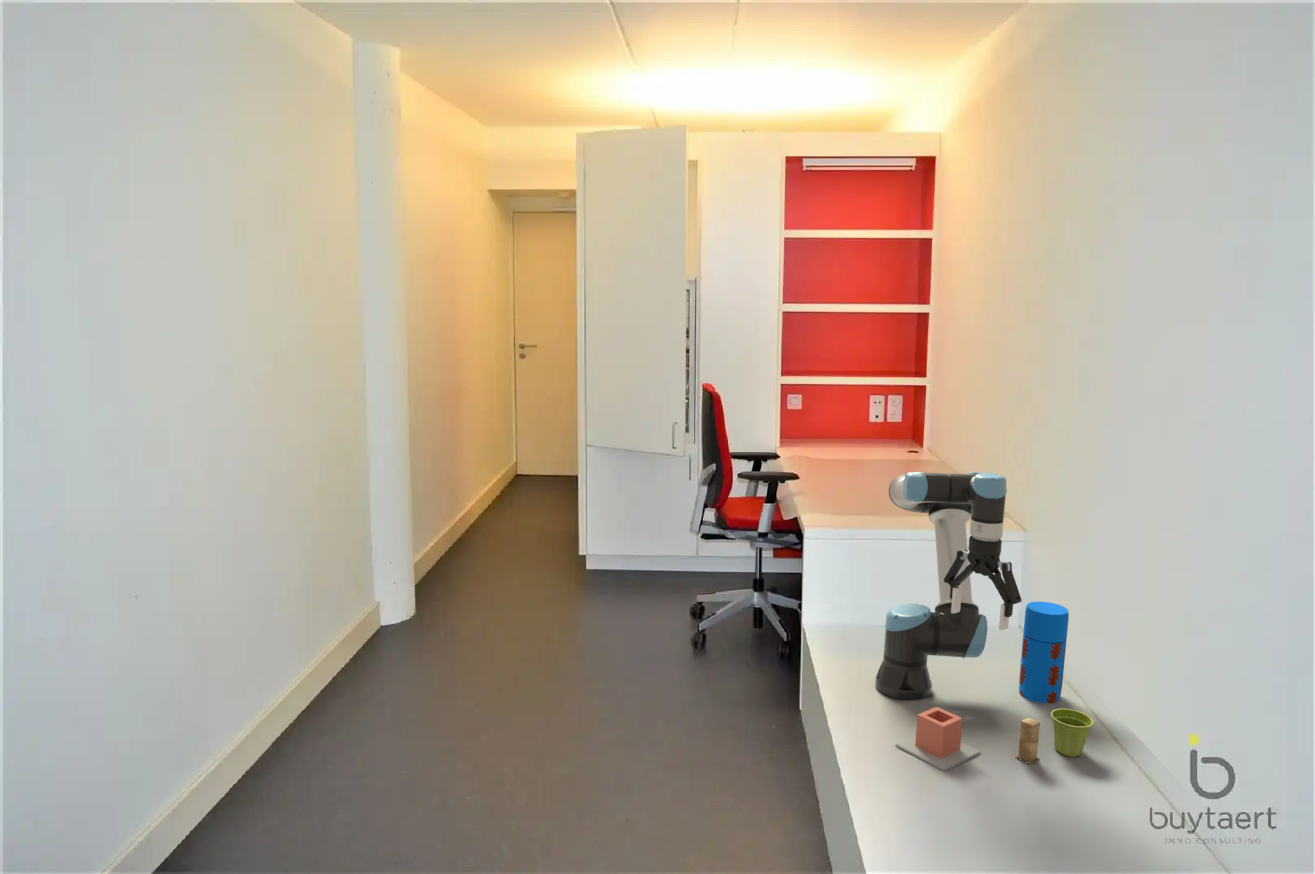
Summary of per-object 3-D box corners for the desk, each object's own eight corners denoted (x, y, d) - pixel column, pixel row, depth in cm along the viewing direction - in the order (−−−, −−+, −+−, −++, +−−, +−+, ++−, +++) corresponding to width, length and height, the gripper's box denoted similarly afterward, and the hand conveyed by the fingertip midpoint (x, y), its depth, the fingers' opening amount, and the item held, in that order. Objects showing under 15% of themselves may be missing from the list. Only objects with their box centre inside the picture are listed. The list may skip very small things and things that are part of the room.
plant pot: (1087, 745, 226) (1091, 712, 224) (1092, 763, 217) (1095, 729, 215) (1046, 738, 229) (1049, 705, 227) (1048, 756, 220) (1052, 722, 218)
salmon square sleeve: (915, 745, 223) (917, 714, 221) (934, 737, 227) (936, 706, 226) (941, 758, 217) (943, 726, 215) (960, 749, 221) (962, 718, 220)
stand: (1015, 757, 219) (1018, 720, 217) (1024, 753, 221) (1027, 716, 220) (1030, 764, 216) (1033, 726, 214) (1039, 760, 218) (1042, 722, 217)
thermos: (1011, 686, 258) (1018, 601, 254) (1048, 686, 259) (1056, 600, 255) (1030, 704, 248) (1038, 615, 244) (1068, 703, 248) (1077, 614, 244)
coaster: (895, 746, 223) (895, 743, 223) (931, 730, 232) (931, 728, 232) (944, 770, 212) (944, 768, 212) (980, 753, 221) (980, 751, 220)
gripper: (933, 528, 233) (927, 608, 236) (1023, 551, 213) (1015, 639, 216) (951, 523, 237) (945, 602, 240) (1041, 546, 217) (1033, 632, 221)
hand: (978, 620), depth 228 cm, fingers open, 13 cm apart
